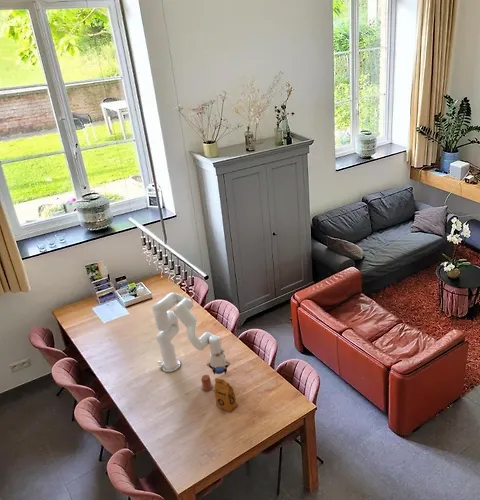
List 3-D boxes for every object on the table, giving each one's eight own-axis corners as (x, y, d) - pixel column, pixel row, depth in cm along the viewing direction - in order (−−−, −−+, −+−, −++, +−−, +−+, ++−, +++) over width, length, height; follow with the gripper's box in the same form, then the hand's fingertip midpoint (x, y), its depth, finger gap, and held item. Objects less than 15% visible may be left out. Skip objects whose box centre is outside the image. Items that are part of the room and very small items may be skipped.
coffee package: (228, 414, 337) (224, 388, 327) (214, 407, 343) (210, 381, 333) (239, 404, 345) (235, 379, 334) (225, 397, 351) (221, 372, 340)
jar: (202, 391, 356) (200, 380, 352) (203, 384, 362) (201, 374, 357) (211, 390, 357) (209, 380, 352) (212, 384, 362) (210, 374, 357)
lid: (215, 367, 366) (215, 365, 365) (225, 367, 366) (225, 365, 365) (214, 374, 360) (213, 372, 359) (224, 373, 360) (223, 371, 359)
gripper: (230, 348, 359) (233, 368, 367) (204, 349, 358) (208, 369, 367) (228, 355, 352) (232, 375, 361) (202, 356, 352) (206, 377, 360)
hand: (220, 372), depth 364 cm, fingers closed on lid, 6 cm apart
